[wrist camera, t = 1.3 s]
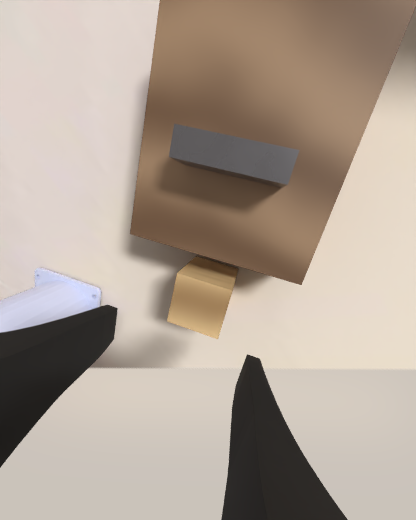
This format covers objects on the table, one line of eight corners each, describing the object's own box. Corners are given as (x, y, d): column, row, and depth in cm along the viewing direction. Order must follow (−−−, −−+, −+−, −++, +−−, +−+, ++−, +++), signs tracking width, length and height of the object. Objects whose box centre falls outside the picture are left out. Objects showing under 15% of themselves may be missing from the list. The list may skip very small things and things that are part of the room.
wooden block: (226, 307, 20) (217, 339, 16) (187, 294, 21) (166, 321, 16) (238, 268, 19) (232, 290, 14) (196, 256, 20) (177, 273, 15)
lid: (298, 279, 14) (310, 302, 11) (137, 232, 16) (106, 239, 13) (404, 15, 10) (475, -74, 7) (171, -12, 12) (138, -94, 9)
